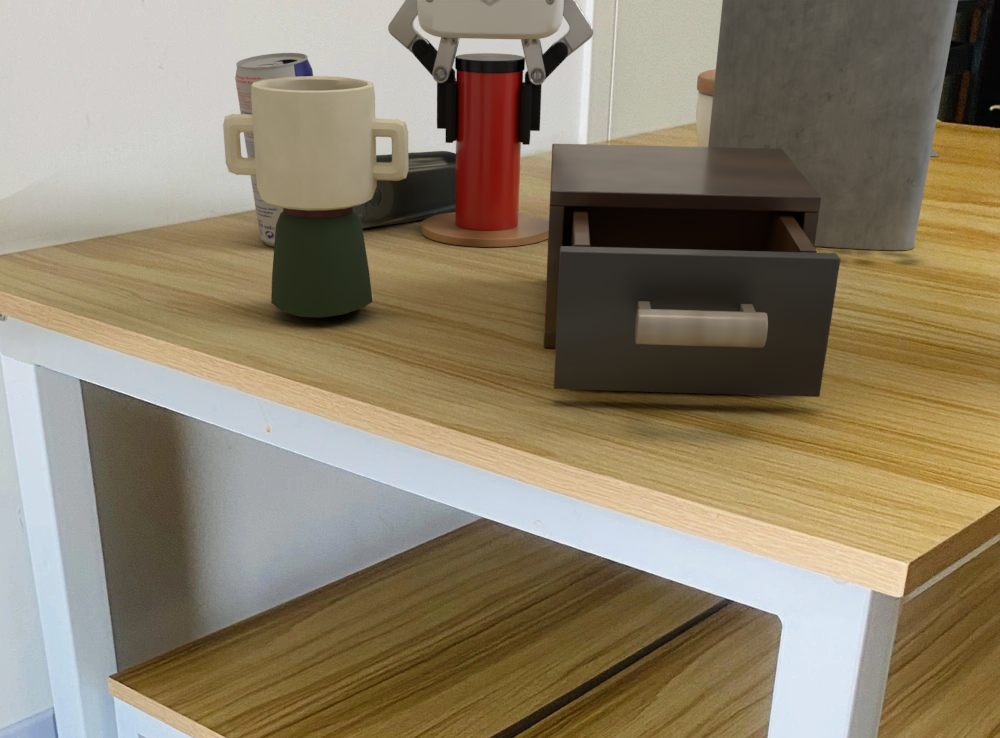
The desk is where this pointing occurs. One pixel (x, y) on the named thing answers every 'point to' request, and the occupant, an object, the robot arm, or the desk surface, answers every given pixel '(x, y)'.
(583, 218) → the drawer
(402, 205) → the dark grey stapler
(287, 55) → the energy drink
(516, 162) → the tin
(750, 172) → the cabinet
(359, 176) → the beige green vessel
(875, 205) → the grey upright slab
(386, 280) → the desk surface
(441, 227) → the coaster
